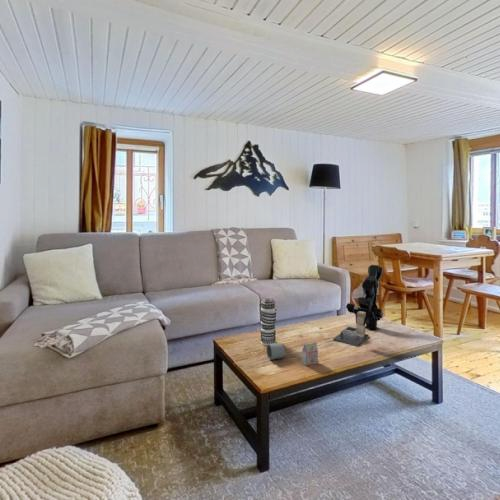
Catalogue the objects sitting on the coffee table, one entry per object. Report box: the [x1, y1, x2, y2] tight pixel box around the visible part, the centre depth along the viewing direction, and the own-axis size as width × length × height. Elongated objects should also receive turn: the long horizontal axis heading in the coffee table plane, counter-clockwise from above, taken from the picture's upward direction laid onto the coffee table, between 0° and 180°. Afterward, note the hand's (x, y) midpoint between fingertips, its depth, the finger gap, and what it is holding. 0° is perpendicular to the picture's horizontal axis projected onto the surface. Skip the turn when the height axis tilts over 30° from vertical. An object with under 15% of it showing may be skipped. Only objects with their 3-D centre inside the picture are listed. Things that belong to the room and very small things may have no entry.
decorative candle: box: [259, 297, 277, 347], centre depth 183 cm, size 9×9×25 cm
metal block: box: [355, 311, 366, 337], centre depth 177 cm, size 4×4×12 cm
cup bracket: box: [333, 325, 370, 347], centre depth 190 cm, size 18×14×6 cm
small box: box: [301, 341, 319, 367], centre depth 160 cm, size 4×7×10 cm, turn 113°
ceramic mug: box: [266, 342, 287, 361], centre depth 167 cm, size 11×8×8 cm
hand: (360, 324), depth 176 cm, fingers closed on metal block, 4 cm apart
